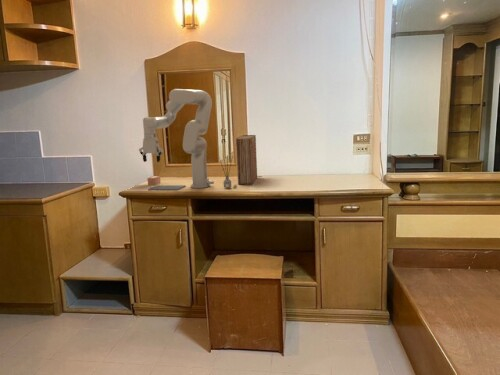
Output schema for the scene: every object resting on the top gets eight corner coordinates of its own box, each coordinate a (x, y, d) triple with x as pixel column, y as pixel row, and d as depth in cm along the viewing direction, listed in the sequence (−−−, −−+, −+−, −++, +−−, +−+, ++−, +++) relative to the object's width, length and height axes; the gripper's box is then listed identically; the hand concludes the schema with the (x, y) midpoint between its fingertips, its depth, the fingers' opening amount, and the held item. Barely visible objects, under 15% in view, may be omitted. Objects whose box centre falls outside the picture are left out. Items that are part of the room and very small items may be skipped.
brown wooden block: (252, 184, 249) (250, 137, 244) (237, 184, 251) (235, 137, 245) (257, 177, 274) (255, 134, 268) (244, 178, 275) (242, 135, 270)
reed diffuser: (220, 189, 238) (218, 156, 235) (221, 187, 245) (219, 155, 241) (236, 188, 238) (235, 155, 235) (237, 186, 245) (235, 154, 241)
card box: (160, 183, 269) (160, 176, 268) (155, 185, 261) (155, 178, 260) (153, 183, 270) (152, 176, 269) (148, 185, 262) (147, 178, 261)
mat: (185, 186, 252) (185, 185, 252) (178, 190, 240) (178, 189, 240) (156, 186, 256) (156, 185, 256) (148, 190, 245) (148, 189, 245)
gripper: (164, 135, 261) (166, 161, 265) (140, 135, 265) (142, 160, 268) (159, 136, 254) (161, 162, 257) (135, 136, 258) (137, 162, 261)
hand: (151, 161), depth 263 cm, fingers open, 9 cm apart
